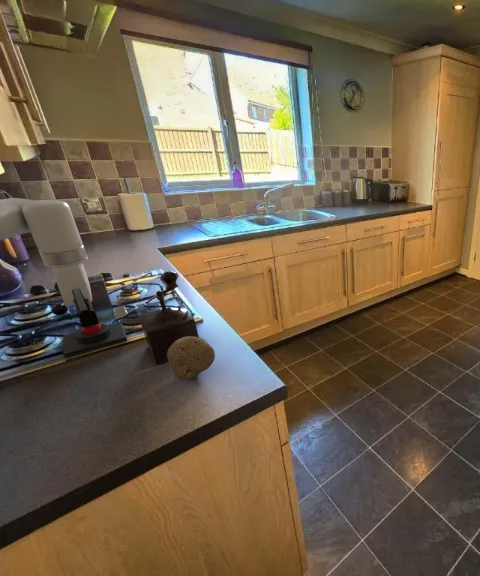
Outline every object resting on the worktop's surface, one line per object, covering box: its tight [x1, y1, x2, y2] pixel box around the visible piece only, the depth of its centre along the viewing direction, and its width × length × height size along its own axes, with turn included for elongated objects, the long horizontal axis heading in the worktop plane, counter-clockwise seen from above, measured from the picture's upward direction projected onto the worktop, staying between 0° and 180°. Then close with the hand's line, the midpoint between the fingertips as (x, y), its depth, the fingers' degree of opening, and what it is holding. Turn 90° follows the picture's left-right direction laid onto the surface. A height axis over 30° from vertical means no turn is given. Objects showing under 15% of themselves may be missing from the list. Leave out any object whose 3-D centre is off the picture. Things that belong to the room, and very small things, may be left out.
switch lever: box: [50, 278, 98, 316], centre depth 90 cm, size 13×3×3 cm, turn 131°
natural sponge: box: [167, 336, 216, 381], centre depth 74 cm, size 9×9×10 cm
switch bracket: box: [87, 274, 128, 324], centre depth 94 cm, size 10×8×13 cm
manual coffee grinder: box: [138, 270, 200, 366], centre depth 83 cm, size 16×11×18 cm
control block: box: [62, 321, 129, 362], centre depth 84 cm, size 12×10×4 cm
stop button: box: [81, 323, 102, 335], centre depth 83 cm, size 4×4×2 cm
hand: (90, 324), depth 83 cm, fingers closed
